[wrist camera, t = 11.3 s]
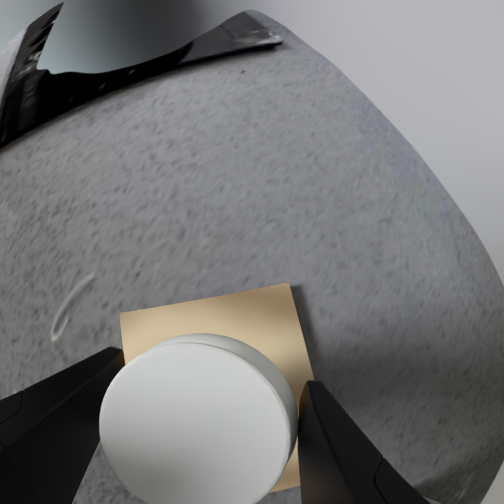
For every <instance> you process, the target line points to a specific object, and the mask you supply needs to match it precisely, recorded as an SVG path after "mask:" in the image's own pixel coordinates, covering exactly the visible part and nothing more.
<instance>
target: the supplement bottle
mask: <svg viewBox="0 0 504 504" xmlns="http://www.w3.org/2000/svg"><path fill="white" fill-rule="evenodd" d="M298 426H299V418H298V410H297V405H296V401H295V398H294V395H293V392H292V390H291V388H290V386H289V384H288V382H287V381H286V379H285V378H284V376H283V375H282V373H281V372H280V370H279V369H278V368H277V367H276V366H275V364H274V363H273V362H271V361H270V360H269V359H268V358H267V357H266V356H265V355H263V354H262V353H261V352H259V351H258V350H257V349H255V348H253V347H252V346H250V345H248V344H246V343H244V342H241V341H239V340H237V339H234V338H231V337H227V336H223V335H217V334H209V333H195V334H185V335H180V336H176V337H173V338H170V339H167V340H165V341H162V342H161V343H159V344H157V345H155V346H153V347H152V348H150V349H149V350H147V351H146V352H145V353H143V354H141V355H139V356H137V357H136V358H134V359H133V360H132V361H130V362H129V363H128V364H127V365H125V366H124V367H123V368H122V369H121V370H120V372H119V373H118V374H117V375H116V376H115V378H114V379H113V380H112V382H111V384H110V385H109V387H108V389H107V391H106V394H105V396H104V398H103V402H102V405H101V411H100V418H99V431H100V439H101V443H102V447H103V451H104V454H105V457H106V459H107V461H108V463H109V465H110V467H111V469H112V471H113V472H114V474H115V475H116V477H117V478H118V479H119V480H120V482H121V483H122V484H123V485H124V486H125V488H126V489H127V490H128V491H129V492H131V493H132V494H133V495H134V496H135V497H137V498H138V499H139V500H141V501H142V502H143V503H145V504H256V503H258V502H259V501H260V500H261V499H263V498H264V497H265V496H266V495H267V494H268V493H269V492H270V491H271V490H272V489H273V487H274V486H275V485H276V483H277V482H278V480H279V479H280V477H281V476H282V474H283V471H284V469H285V466H286V465H287V463H288V461H289V460H290V458H291V456H292V454H293V451H294V449H295V445H296V441H297V436H298Z"/></svg>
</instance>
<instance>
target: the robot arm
mask: <svg viewBox="0 0 504 504" xmlns="http://www.w3.org/2000/svg"><path fill="white" fill-rule="evenodd" d="M124 366H125V358H124V352H123V350H122V349H119V348H116V347H108V348H106V349H104V350H102V351H100V352H98V353H96V354H94V355H92V356H90V357H88V358H86V359H84V360H82V361H80V362H78V363H76V364H74V365H72V366H70V367H68V368H66V369H64V370H62V371H60V372H58V373H56V374H54V375H52V376H50V377H48V378H46V379H44V380H42V381H40V382H38V383H36V384H34V385H32V386H30V387H28V388H26V389H24V391H23V390H21V391H19V392H17V393H15V394H13V395H11V396H9V397H6V398H4V399H2V400H0V504H72V502H73V500H74V497H75V495H76V493H77V490H78V488H79V486H80V483H81V481H82V479H83V477H84V474H85V472H86V470H87V468H88V465H89V463H90V461H91V459H92V457H93V454H94V452H95V450H96V448H97V446H98V443H99V441H100V431H99V418H100V411H101V405H102V402H103V398H104V396H105V394H106V391H107V389H108V387H109V385H110V384H111V382H112V380H113V379H114V378H115V376H116V375H117V374H118V373H119V372H120V370H121V369H122V368H123V367H124ZM297 450H298V463H299V474H300V486H301V499H302V504H431V503H430V502H429V501H428V500H426V499H425V498H424V497H423V496H422V495H421V494H420V493H418V492H417V491H416V490H415V489H414V488H413V487H412V486H411V485H410V484H409V483H408V482H407V481H406V480H404V479H403V478H402V477H401V476H400V474H399V473H398V472H397V471H396V470H395V469H394V468H393V467H392V466H391V465H390V463H389V462H388V461H387V460H386V459H385V458H383V455H382V454H381V453H380V452H379V451H378V450H377V448H376V447H375V446H374V445H373V444H372V442H371V441H370V440H369V439H368V438H367V437H366V435H365V434H364V433H363V432H362V431H361V429H360V428H359V427H358V426H357V425H356V423H355V422H354V421H353V420H352V419H351V417H350V416H349V415H348V414H347V413H346V411H345V410H344V409H343V408H342V407H341V405H340V404H339V403H338V402H337V400H336V399H335V398H334V397H333V396H332V394H331V393H330V392H329V391H328V390H327V388H326V387H325V386H324V385H323V383H322V382H321V381H316V380H307V381H306V383H305V385H304V388H303V391H302V394H301V397H300V401H299V426H298V444H297Z"/></svg>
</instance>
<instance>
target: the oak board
mask: <svg viewBox="0 0 504 504" xmlns="http://www.w3.org/2000/svg"><path fill="white" fill-rule="evenodd" d="M120 323H121V333H122V341H123V349H124V357H125V364H126V365H127V364H128V363H129V362H130V361H132V360H133V359H134V358H136V357H137V356H139V355H141V354H143V353H145V352H146V351H147V350H149V349H150V348H152V347H153V346H155V345H157V344H159V343H161V342H162V341H165V340H167V339H170V338H173V337H176V336H180V335H185V334H195V333H209V334H217V335H223V336H227V337H231V338H234V339H237V340H239V341H241V342H244V343H246V344H248V345H250V346H252V347H253V348H255V349H257V350H258V351H259V352H261V353H262V354H263V355H265V356H266V357H267V358H268V359H269V360H270V361H271V362H273V363H274V364H275V366H276V367H277V368H278V369H279V370H280V372H281V373H282V375H283V376H284V378H285V379H286V381H287V382H288V384H289V386H290V388H291V390H292V392H293V395H294V398H295V401H296V405H297V410H298V418H299V401H300V397H301V394H302V391H303V388H304V385H305V383H306V381H307V380H314V377H313V373H312V369H311V365H310V361H309V357H308V353H307V349H306V346H305V342H304V338H303V334H302V330H301V326H300V323H299V319H298V315H297V311H296V307H295V304H294V300H293V296H292V293H291V289H290V285H289V282H287V283H283V284H278V285H273V286H268V287H263V288H258V289H253V290H248V291H243V292H237V293H232V294H227V295H222V296H216V297H211V298H205V299H200V300H194V301H189V302H183V303H177V304H172V305H166V306H160V307H154V308H148V309H142V310H136V311H130V312H123V313H120ZM297 444H298V436H297V441H296V445H295V449H294V451H293V454H292V456H291V458H290V460H289V461H288V463H287V465H286V466H285V469H284V471H283V474H282V476H281V477H280V479H279V480H278V482H277V483H276V485H275V486H274V487H273V489H272V490H271V491H270V492H269V493H271V492H275V491H280V490H284V489H288V488H292V487H296V486H299V485H300V474H299V463H298V450H297Z"/></svg>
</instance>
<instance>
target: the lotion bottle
mask: <svg viewBox="0 0 504 504" xmlns="http://www.w3.org/2000/svg"><path fill="white" fill-rule="evenodd" d="M423 497H424V496H423ZM424 498H425V499H426V500H428V501H429V502H430V503H431V504H441V503H439V502H436V501H434V500H431V499H429V498H426V497H424Z"/></svg>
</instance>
